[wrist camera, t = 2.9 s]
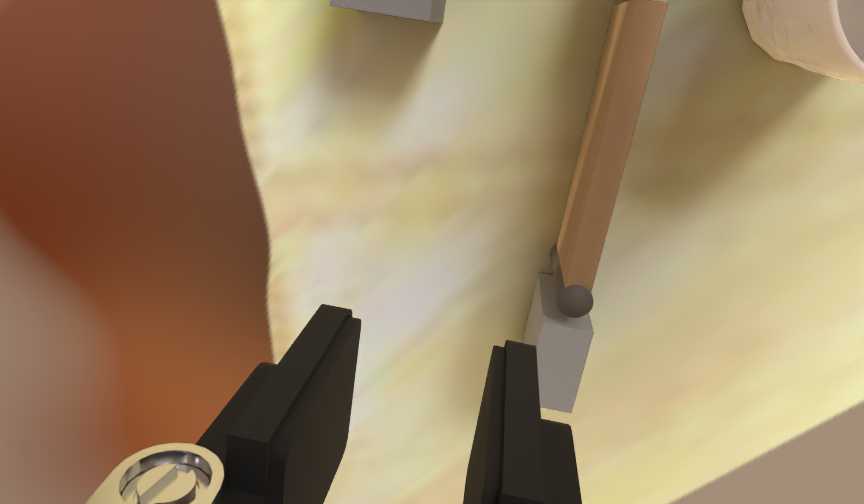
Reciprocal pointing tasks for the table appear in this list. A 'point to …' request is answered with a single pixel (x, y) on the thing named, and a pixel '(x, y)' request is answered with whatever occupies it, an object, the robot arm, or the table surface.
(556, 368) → the hinge jamb
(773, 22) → the white cup
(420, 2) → the grey rectangular block
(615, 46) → the door
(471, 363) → the table surface
